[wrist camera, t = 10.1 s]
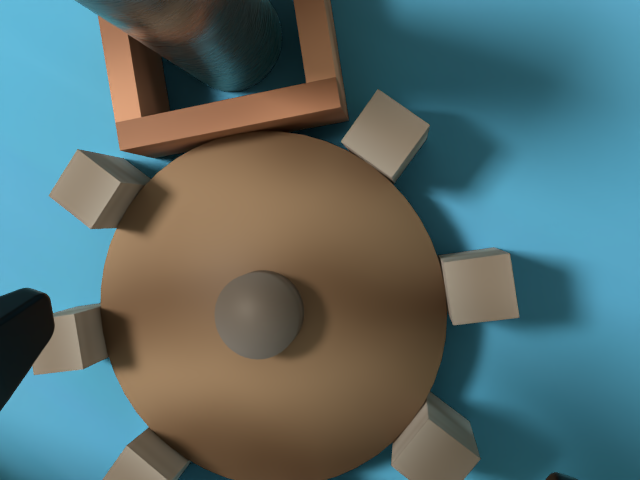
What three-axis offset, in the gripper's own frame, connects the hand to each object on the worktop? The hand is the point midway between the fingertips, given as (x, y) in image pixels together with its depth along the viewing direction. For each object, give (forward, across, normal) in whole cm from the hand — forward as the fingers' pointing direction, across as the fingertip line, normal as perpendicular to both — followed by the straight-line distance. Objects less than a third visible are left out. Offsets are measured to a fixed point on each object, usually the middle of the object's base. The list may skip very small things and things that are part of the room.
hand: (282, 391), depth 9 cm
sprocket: (+10, +4, +4) cm, 12 cm away
